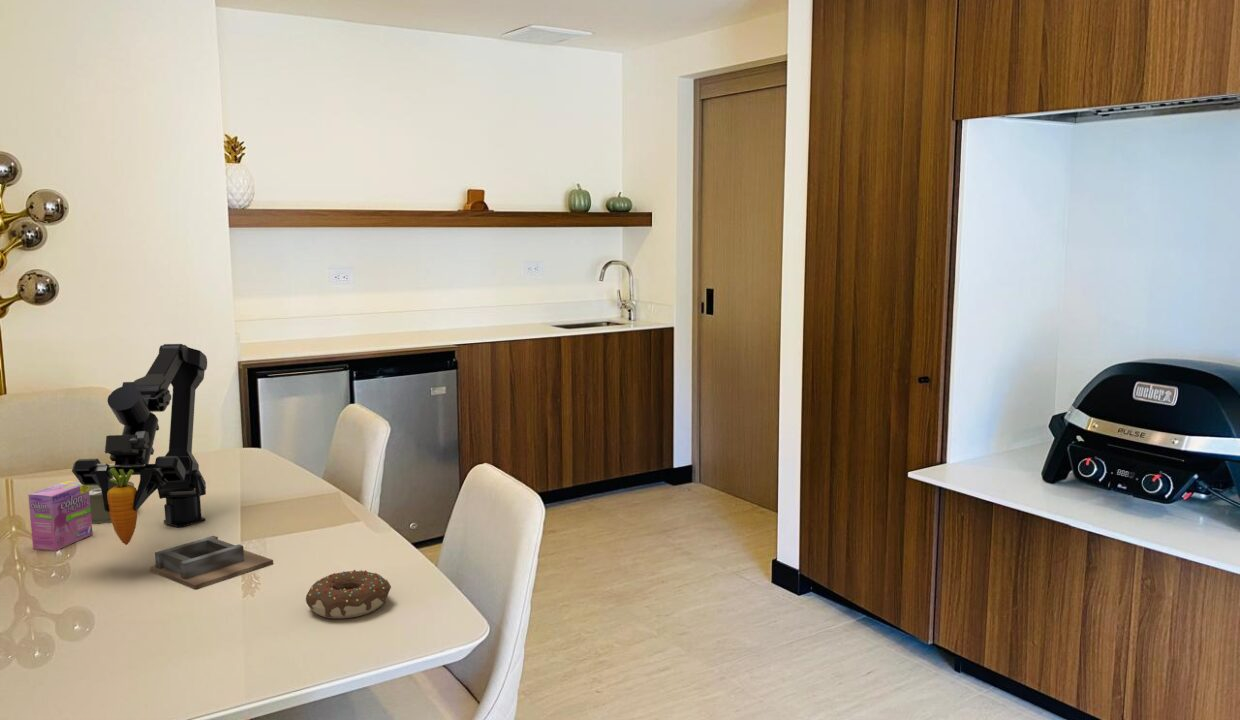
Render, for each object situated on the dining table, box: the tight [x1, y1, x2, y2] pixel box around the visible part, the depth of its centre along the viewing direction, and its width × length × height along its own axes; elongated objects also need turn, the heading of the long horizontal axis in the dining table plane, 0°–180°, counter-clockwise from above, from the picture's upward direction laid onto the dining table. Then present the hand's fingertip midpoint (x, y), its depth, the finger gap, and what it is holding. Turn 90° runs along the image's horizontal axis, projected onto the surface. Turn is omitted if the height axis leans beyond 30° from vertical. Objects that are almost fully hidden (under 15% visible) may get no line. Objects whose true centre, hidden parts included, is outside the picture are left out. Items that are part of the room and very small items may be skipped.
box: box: [27, 480, 94, 552], centre depth 196 cm, size 10×6×12 cm, turn 168°
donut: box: [305, 569, 392, 619], centre depth 163 cm, size 14×14×5 cm
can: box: [89, 480, 135, 525], centre depth 214 cm, size 12×12×7 cm
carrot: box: [107, 468, 139, 546], centre depth 176 cm, size 5×5×15 cm
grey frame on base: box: [149, 535, 274, 590], centre depth 182 cm, size 16×16×4 cm
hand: (120, 510), depth 174 cm, fingers closed on carrot, 5 cm apart
